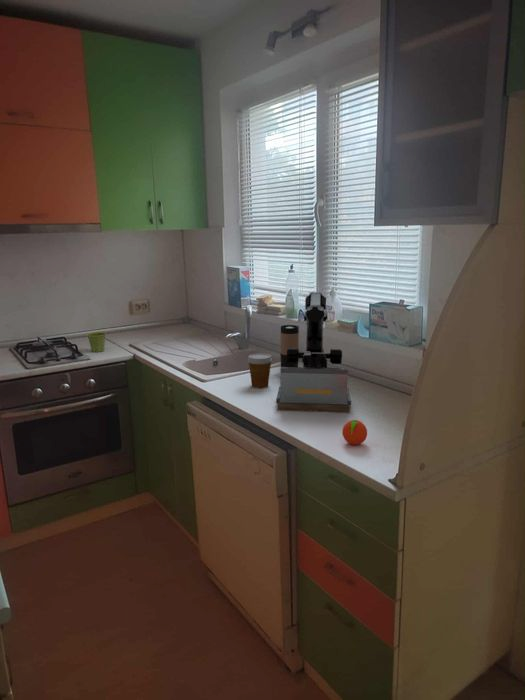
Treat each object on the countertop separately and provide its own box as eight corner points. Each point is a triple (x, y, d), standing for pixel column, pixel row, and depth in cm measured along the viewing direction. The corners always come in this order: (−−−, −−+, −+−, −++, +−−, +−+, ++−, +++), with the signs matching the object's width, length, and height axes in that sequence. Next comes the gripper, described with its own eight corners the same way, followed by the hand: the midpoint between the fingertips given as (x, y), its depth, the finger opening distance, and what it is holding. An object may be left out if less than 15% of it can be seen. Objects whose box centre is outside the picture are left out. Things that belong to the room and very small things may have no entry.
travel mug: (277, 371, 221) (277, 325, 216) (292, 369, 224) (292, 324, 220) (286, 376, 214) (286, 328, 210) (301, 373, 218) (302, 327, 213)
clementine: (363, 452, 141) (364, 427, 140) (338, 448, 144) (339, 424, 142) (368, 441, 149) (369, 417, 147) (345, 437, 151) (345, 414, 150)
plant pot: (92, 354, 255) (90, 336, 253) (85, 350, 262) (83, 334, 260) (110, 351, 261) (109, 334, 259) (103, 348, 268) (101, 331, 266)
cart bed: (279, 397, 188) (279, 386, 187) (348, 399, 185) (348, 388, 184) (276, 410, 174) (276, 398, 173) (350, 412, 172) (351, 401, 171)
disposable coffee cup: (244, 383, 204) (244, 354, 202) (267, 381, 207) (267, 352, 205) (252, 390, 196) (251, 360, 193) (275, 388, 199) (275, 357, 196)
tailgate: (280, 401, 175) (280, 366, 172) (346, 403, 172) (347, 368, 170) (280, 402, 173) (280, 368, 171) (346, 404, 171) (347, 369, 168)
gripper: (340, 351, 187) (340, 389, 179) (288, 350, 189) (286, 388, 181) (341, 334, 178) (342, 373, 170) (287, 333, 180) (285, 372, 172)
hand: (313, 377), depth 173 cm, fingers closed
